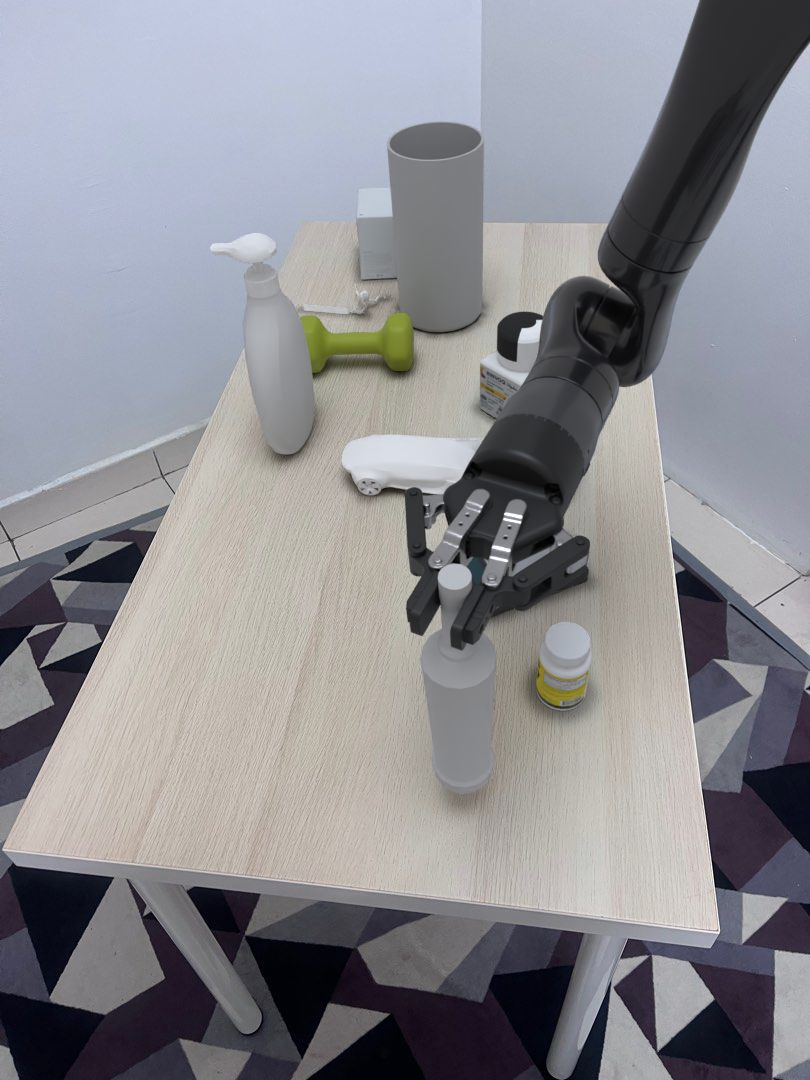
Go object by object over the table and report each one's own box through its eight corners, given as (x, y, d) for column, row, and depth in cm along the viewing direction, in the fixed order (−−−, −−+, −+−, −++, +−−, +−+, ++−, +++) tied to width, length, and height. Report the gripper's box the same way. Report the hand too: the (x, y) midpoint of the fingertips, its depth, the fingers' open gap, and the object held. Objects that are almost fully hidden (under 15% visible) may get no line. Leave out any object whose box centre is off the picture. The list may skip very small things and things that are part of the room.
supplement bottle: (547, 661, 78) (554, 609, 72) (593, 681, 76) (604, 630, 70) (526, 699, 75) (531, 648, 69) (573, 720, 74) (582, 670, 67)
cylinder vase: (421, 283, 127) (412, 117, 108) (494, 298, 123) (498, 127, 104) (386, 325, 120) (370, 153, 101) (462, 341, 115) (460, 166, 97)
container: (478, 409, 105) (478, 323, 95) (518, 382, 108) (522, 297, 98) (522, 435, 101) (527, 348, 91) (562, 407, 104) (571, 320, 94)
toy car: (492, 454, 99) (493, 426, 95) (491, 499, 93) (491, 471, 90) (350, 452, 101) (345, 424, 97) (340, 495, 95) (335, 467, 92)
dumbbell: (416, 347, 115) (413, 303, 110) (413, 381, 110) (410, 336, 104) (304, 349, 117) (296, 306, 111) (296, 382, 111) (287, 338, 106)
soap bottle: (272, 396, 109) (228, 204, 90) (330, 398, 108) (297, 204, 88) (244, 468, 100) (186, 270, 80) (306, 471, 99) (264, 271, 79)
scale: (542, 519, 91) (543, 503, 89) (587, 581, 84) (590, 565, 82) (445, 552, 88) (445, 537, 86) (485, 619, 82) (485, 603, 80)
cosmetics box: (401, 278, 128) (396, 215, 121) (361, 280, 129) (354, 218, 121) (400, 246, 135) (396, 184, 128) (362, 249, 136) (356, 187, 128)
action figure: (313, 300, 127) (297, 316, 122) (313, 266, 124) (297, 281, 118) (385, 311, 126) (372, 328, 120) (387, 278, 122) (374, 294, 117)
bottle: (434, 798, 65) (413, 614, 46) (430, 741, 68) (410, 547, 50) (497, 794, 64) (502, 607, 46) (491, 736, 68) (493, 541, 49)
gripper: (446, 390, 57) (326, 559, 47) (638, 436, 52) (549, 635, 42) (450, 467, 63) (343, 633, 53) (623, 515, 58) (542, 707, 48)
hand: (436, 633), depth 48 cm, fingers closed on bottle, 2 cm apart
